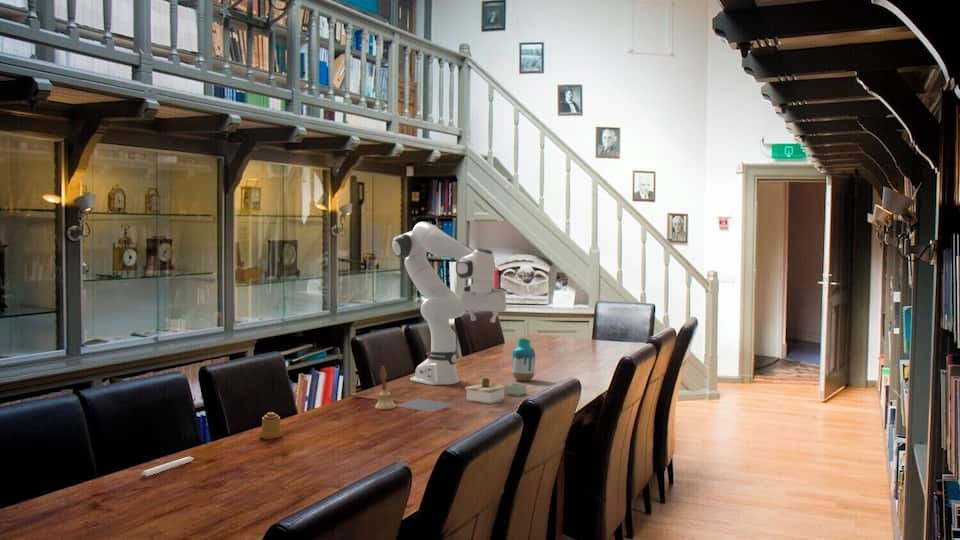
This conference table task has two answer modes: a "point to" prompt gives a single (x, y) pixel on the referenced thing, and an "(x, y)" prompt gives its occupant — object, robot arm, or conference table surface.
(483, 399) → the dish
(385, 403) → the hand bell
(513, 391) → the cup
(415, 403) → the mat
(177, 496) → the conference table surface
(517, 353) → the vase
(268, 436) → the ornamental finial
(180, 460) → the marker
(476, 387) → the lid
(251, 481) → the conference table surface
